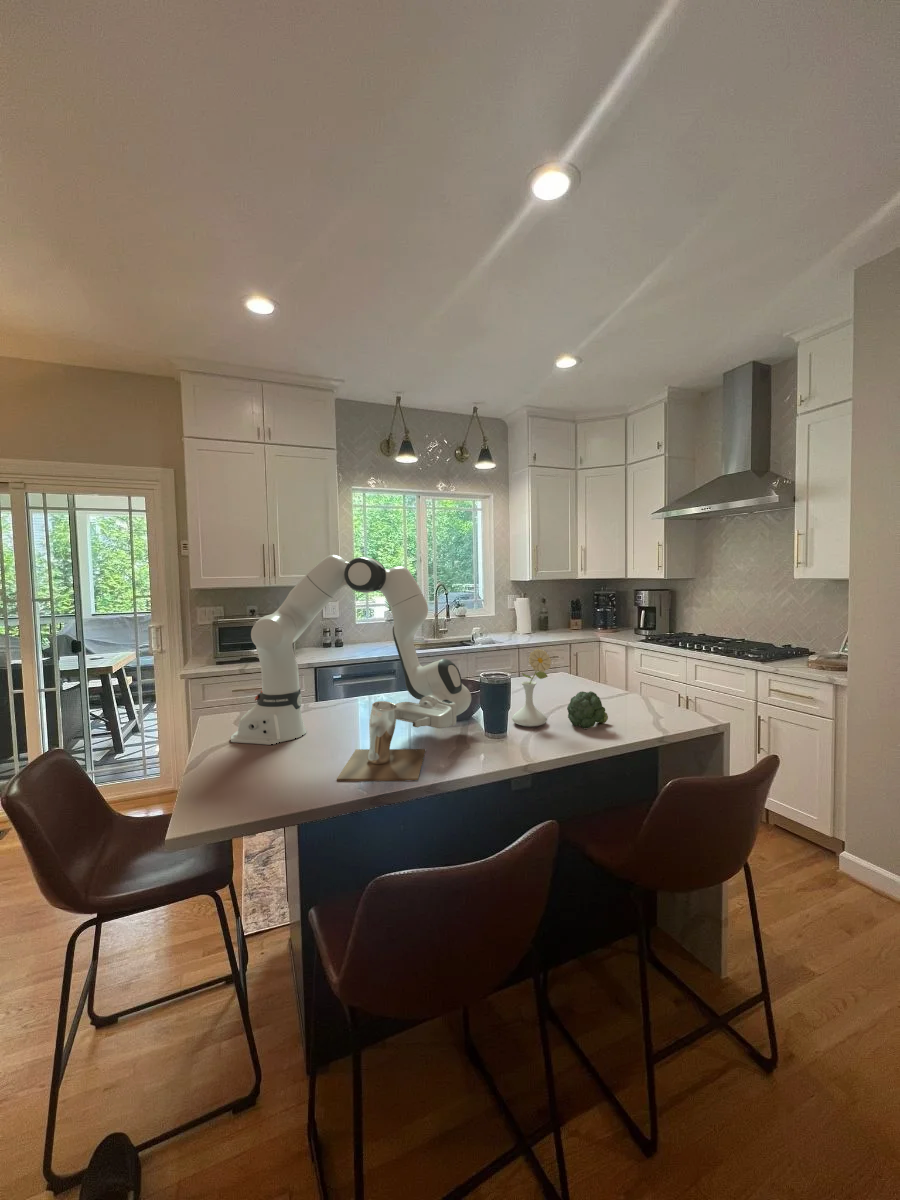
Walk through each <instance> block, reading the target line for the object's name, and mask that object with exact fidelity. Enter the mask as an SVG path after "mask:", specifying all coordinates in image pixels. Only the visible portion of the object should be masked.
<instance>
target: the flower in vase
mask: <svg viewBox="0 0 900 1200" xmlns="http://www.w3.org/2000/svg"><path fill="white" fill-rule="evenodd" d="M528 664H529V665H530V666H531V668H532V669H533V670H534V674H533V675H532V676H530V675H528V674H525V673H523V672H521V674H522V676H524V677H525V678H527V679H530V680H525V681H521V683H520V684H521V685H522V686H523V689H524V693H525V703H524V705H523V706H522V707H521V708H520V709H519V710H517V711H516V712H515V713H514V714H513V715H512V717H511V720H512V722H513V723H514V724H517V725H519V726H523V727H538V726H542V725H544V724H546V722H547V721H548V718H547V716H546V715H545V714H544V713H543V712H542V711H540V710H539V709H538V708H537V707H536V706H535V704H534V702H533V695H534V688H535V686H536V685H537V683H538V682H536V681H533V679H534V678H535V676H536V677H537V678H538V679H540V680H542V679H546V678H548V677H549V676H548V674H547V673H545V672H546V671H548V670H549V669H551V665H552V659H551V657H550V655H549V654H548V652H547V651H546V650H543V649H542V648H541V649H539V648H536V649H534V650H533V651H531V652H529V657H528Z"/></svg>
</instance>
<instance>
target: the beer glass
mask: <svg viewBox="0 0 900 1200" xmlns="http://www.w3.org/2000/svg"><path fill="white" fill-rule="evenodd" d="M395 704H396V703H394V702H390V701H387V700H379V701H374V702H373V703H372V705H371V710H370V715H369V722H368V723H369V727H368V728H369V741H370V743H369V753H368V756H367V759H368V761H370V762H371V763H374V764H385V763H388V762H389V761H390V749H391V748H390V747H391V743H392V740H393V737H394V733H395V729H396V725H397V719H396V717H397V706H396V705H395Z"/></svg>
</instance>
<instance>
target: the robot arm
mask: <svg viewBox="0 0 900 1200" xmlns="http://www.w3.org/2000/svg"><path fill="white" fill-rule="evenodd" d="M346 587H349V588H350V589H352V590H353V591H355V592H358V593H363V594H367V593H373V592H380V593H381V594H383V596H384V598H385V599H386V601H387V604H388V607H389V608H390V611H391V613H392V616H393V617H392V618H393V625H392V636H393V640H394V644H395V648H396V651H397V655H398V658H399V661H400V665H401V668H402V672H403V675H404V681H405V687H406V689H407V692H408V693H409V694H410V695H411V696H412V697H413V698H414V699H416V700H419V702H413V701H412V702H410V701H402V702H398V703H397V702H396V703H394V704H395V705H396V706H397V717H396V721H402V722H407V723H411V724H412V727H414V728H420V727H431V728H436V729H446V728H448V727H451V726H455V725H457V716H459V715H461V714H462V713H464V712H465V711H466V710H468V709H469V707H470V705H471V702H472V695H471V692H470V690H469V689H468V687H467V686H465V685H464V684H463V682H462V675H461V673H460V672H461V671H459V670H460V669H459V668H458V666H457V665H456V664H455V663H454V662H453V661H451V660H450V659H447V658H441V659H439V660H436V661H433V662H430V663H428V664H426V665H422V664H420V660H419V658H418V654H417V651H416V647H415V644H414V637H415V635H416V632H417V631H418V630H419V629H420V627H422V625H423V624H424V623H425V621H426V619H427V616H428V614H429V613H428V612H429V608H428V603H427V601H426V598H425V595H424V594H423V591H422V590H421V588H420V586H419V584H418V583H417V581H416V579H415V577H414V576H413V574H412V573H411V571H410V570H409V569H408V568H407V567H405V566H401V565H397V566H393V567H390V568H387V569H386V568H385V566H384V565H383V564H382V563H381V562H379V560H376V559H374V558H372V557H367V556H359V557H355V558H353V559H351V560H350V561H347V560H346V559H344V558H343V557H341V556H340V555H336V554H329V555H327V556H326V557H324V558H323V559H321V560H320V561H319V562H318V563H317V564H316V565H314V566H313V567H312V568H311V569H310V570H309V571H308V572H307V573H306V574H305V575H304V576H303V577H302V578H301V579H300V581H298V583H297V584H296V585H295V586H294V587H293V588H292V589H291V590H290V591H289V592H288V595H287V596H286V598H285V599H284V601H283V602H282V603H281V605H280V606H279V607H278V609H277V610H275V611H274V612H273V613H271V614H266V615H263V616H262V617H260V618H259V619H258V620H257V621H256V622H255V623H254V624H253V626H252V628H251V631H250V637H251V641H252V643H253V645H255V648H256V653H257V656H258V660H259V665H260V672H261V688H262V689H261V691H260V693H258V694H257V695H256V696H254V701H257V704H255V706H253V707H252V708H250V709H249V710H248V711H246V713H245V714H243V716H242V717H241V718H240V720H239V723H238V726H237V727H238V728H237V730H236V731H234V733H232V734H231V736H230V740H231V741H230V742H231V743H238V744H239V743H242V744H254V745H255V744H256V745H269V746H270V745H271V744H273V745H277V744H280V743H283V742H286V741H288V742H289V741H291V740H292V741H293V740H295V738H296V739H299V738H300V737H303V736H304V735H305V734H306V733H307V730H306V727H305V724H304V719H303V715H302V708H301V707H302V693H301V692H302V691H301V688H300V679H299V664H298V662H297V659H296V656H295V653H294V647H293V643H295V642H296V641H297V640H298V639H299V638H300V637H301V636H302V634H303V633H304V632H305V631H306V630H307V628H309V626H310V624H312V622H313V621H314V619H315V618H316V617H317V616H319V614H320V613H321V611H322V610H324V609H325V608H326V606H327V605H328V604H329V603H330V602H331V601H332V600H333V599H334V598H335V596H336V595H338V593H339V592H340V591H342V590H343V588H346ZM302 735H303V736H302ZM279 742H280V743H279ZM276 743H277V744H276Z"/></svg>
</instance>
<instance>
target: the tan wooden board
mask: <svg viewBox="0 0 900 1200" xmlns="http://www.w3.org/2000/svg"><path fill="white" fill-rule="evenodd" d="M369 749H370V748H369ZM369 749H367V748H366V749H362V748H361V749H354V751H353V752H352V754H351V756H350V757H349V759H348V761H347V762H346V764H345V765H344V767H343V768H342V770H341V771H340V773H339V774H338V776H337V778H336V782H406V781H405V780H418V781H419V779H420V774H421V771H420V770H421V769H422V767H421V766H423V763H424V759H423V758H425V755H426V748H392V749H391V748H390V761H389V762H388V763H385V764H374V763H371V762H370V761H368V759H367V756H368V753H369ZM424 754H425V755H424ZM422 762H423V763H422Z"/></svg>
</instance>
